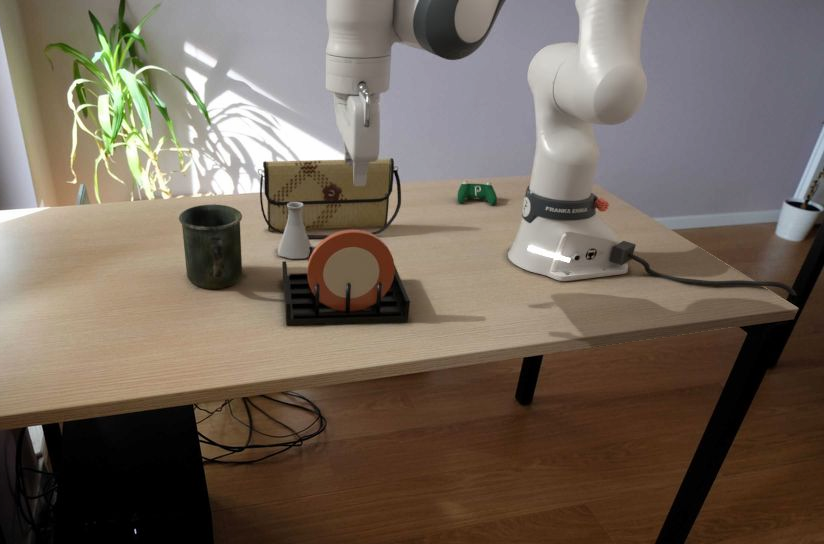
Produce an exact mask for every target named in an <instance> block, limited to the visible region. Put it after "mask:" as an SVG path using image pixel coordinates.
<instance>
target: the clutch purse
mask: <svg viewBox="0 0 824 544" xmlns="http://www.w3.org/2000/svg"><path fill="white" fill-rule="evenodd" d="M262 167H263V169H262V168H259V169H257V173H258V175H259V176H260V183H259V201H260V208H261V209H260V210H261V213H262V216H263V219H264V221H265V223H266V225H267V231H268V232H270V231H274V232H276V233H279V234H280V235H281V234H282V235H283V233H284V231H283V230H285V227H286V225H287V220H288V215H289V209H288V207H287V204H288V203H290V202H300V203H303V208H302V219H303V224H304V227H305V230H307V229H332V228H334V229H335V228H361V227H363V228H364V227H381V228H380V229H379V230H376V231H372V232H371V233H372V234H374V235H375V236H377V235H378V234H381V233H382V232H384V231H385V230H386V229H387V228H388V227H389V226H390V225H391V224H392V223H393V221H394V220H395V219H396V218H397V216H398V214H399V212H400V210H401V205H402V186H401V180H400V176H399V167H398V166H395V161H394V158H392V157H391V158H378V159H377V161H374V162H369V167H368V171H367V177H366V185H365V186H355V185H354V183H353V166H347V165H346V163H345V161H344V159H322V160H321V159H316V160H312V159H311V160H278V161H277V160H275V161H272V160H271V161H266V160H265V161H262ZM396 168H397V169H396ZM259 171H261V173H260V172H259ZM394 178H395V181H396V182H395V183H396V191H397V204H396V208H395V210H394V213H393V215H392V216H391V218H390V219H389V220H388V216H389V205H390V204H389V202H390V196H391V195H392V192H393V188H394V187H393V186H394ZM263 181H264V196H265V198H266V213H265V209H264V202H263ZM382 226H383V227H382ZM330 235H331V234H330ZM330 235H328V234H327V235H326V234H307V236H308V239H310V238H311V239H325V238H327V237H328V236H330Z"/></svg>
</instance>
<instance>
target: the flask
mask: <svg viewBox="0 0 824 544" xmlns="http://www.w3.org/2000/svg"><path fill="white" fill-rule="evenodd" d="M287 207H288V209H289V215H288V220H287V225H286V227H285V230H284V233H283V234H282V236H281V239H280V242H279V245H278V247H277V254H278V256H280V257H282V258H286V259H290V260H294V259H308V258H309V247H310V246H311V247H312V245H311V241H310V238H308V236H307V235H308V234H307V229H305V227H304V224H303V219H302V208H303V203H300V202H290V203H288V204H287Z"/></svg>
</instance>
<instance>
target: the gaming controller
mask: <svg viewBox="0 0 824 544" xmlns="http://www.w3.org/2000/svg"><path fill="white" fill-rule="evenodd" d="M468 181H469V180H464V181H463V182H462V183H461V184H460V186H459V188H458V191H457V202H458V203H459V204H464V203H465V201H466V200H467V199H468V200H472V199H477V200H481V201H484V200H486V201H487V202H488V204H489V205H491V206H496V205H497V202H498V197H497V193H496V191H495V189H494V187H493V185H492V182H491V181H486V184H485V183H469V182H468Z"/></svg>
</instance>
